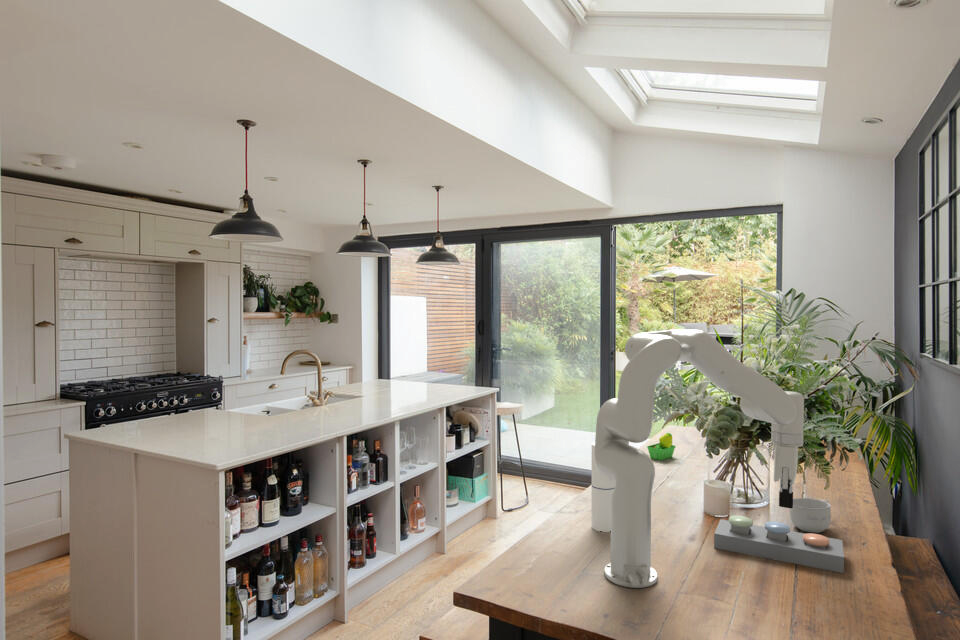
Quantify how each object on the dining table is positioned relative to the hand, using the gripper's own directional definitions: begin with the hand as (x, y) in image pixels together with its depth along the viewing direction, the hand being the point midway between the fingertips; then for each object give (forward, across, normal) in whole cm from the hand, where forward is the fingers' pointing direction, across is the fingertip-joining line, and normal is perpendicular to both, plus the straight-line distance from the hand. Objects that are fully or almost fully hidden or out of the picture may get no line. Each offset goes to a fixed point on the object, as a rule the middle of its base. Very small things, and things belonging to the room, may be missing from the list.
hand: (785, 506), depth 154 cm
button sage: (+10, 0, -11) cm, 15 cm away
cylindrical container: (+13, +8, -48) cm, 50 cm away
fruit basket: (+13, -81, -52) cm, 97 cm away
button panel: (+13, 0, -2) cm, 13 cm away
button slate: (+10, 0, -2) cm, 10 cm away
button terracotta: (+11, 0, +7) cm, 13 cm away
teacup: (+13, -24, +6) cm, 28 cm away
